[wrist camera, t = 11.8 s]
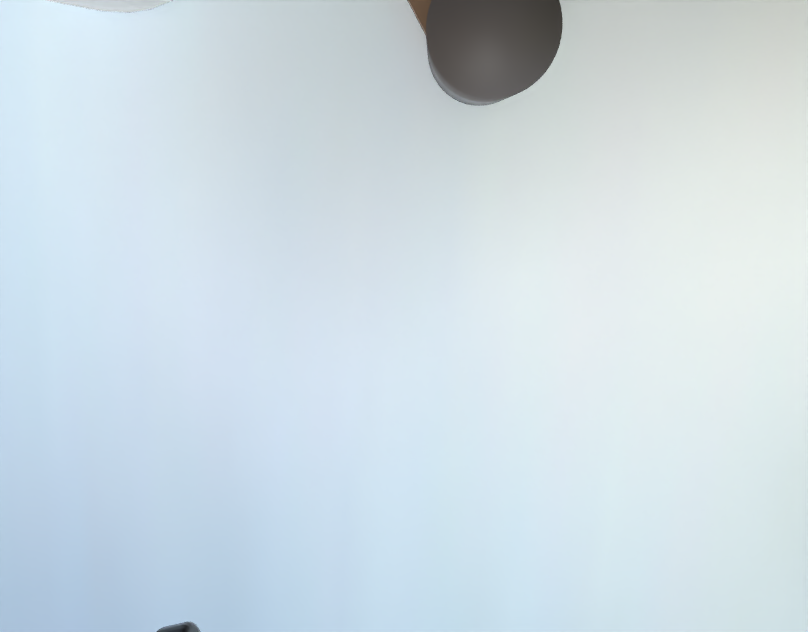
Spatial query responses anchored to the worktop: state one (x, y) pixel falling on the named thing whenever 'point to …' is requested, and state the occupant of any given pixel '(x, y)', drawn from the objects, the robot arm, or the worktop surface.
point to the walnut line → (489, 45)
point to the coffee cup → (115, 4)
